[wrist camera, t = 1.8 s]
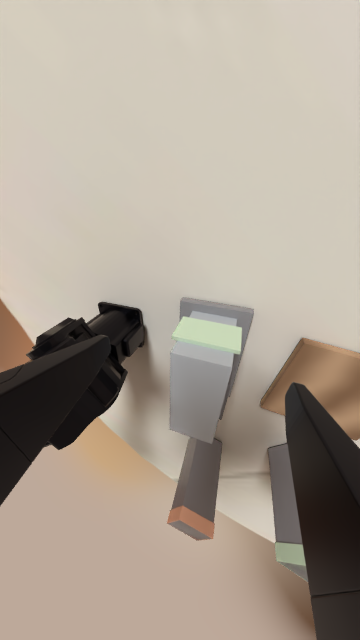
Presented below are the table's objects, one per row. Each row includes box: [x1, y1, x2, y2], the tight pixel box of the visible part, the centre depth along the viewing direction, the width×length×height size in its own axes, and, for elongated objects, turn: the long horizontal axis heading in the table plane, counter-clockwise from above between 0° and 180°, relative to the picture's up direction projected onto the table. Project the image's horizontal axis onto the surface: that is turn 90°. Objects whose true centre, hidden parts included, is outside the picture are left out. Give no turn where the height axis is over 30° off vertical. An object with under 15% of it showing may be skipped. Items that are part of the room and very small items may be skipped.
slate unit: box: [170, 297, 254, 444], centre depth 21 cm, size 8×14×8 cm, turn 177°
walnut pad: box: [261, 338, 360, 440], centre depth 22 cm, size 12×12×1 cm
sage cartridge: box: [268, 444, 308, 582], centre depth 26 cm, size 5×5×12 cm
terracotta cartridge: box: [167, 437, 222, 540], centre depth 32 cm, size 5×5×12 cm
